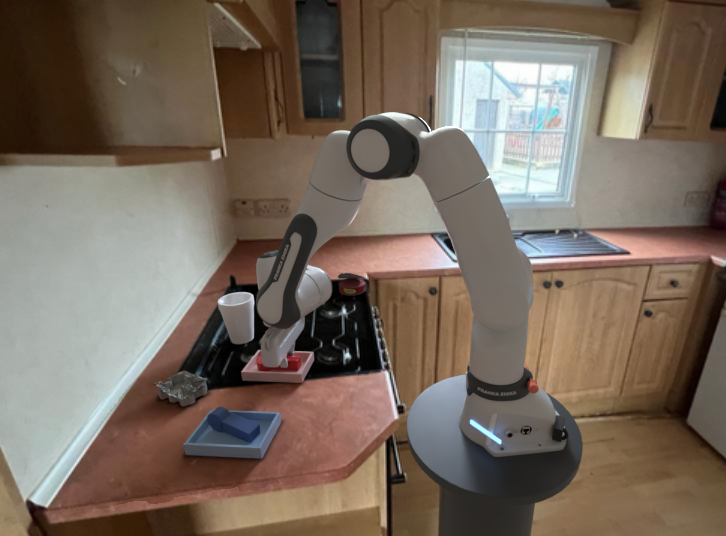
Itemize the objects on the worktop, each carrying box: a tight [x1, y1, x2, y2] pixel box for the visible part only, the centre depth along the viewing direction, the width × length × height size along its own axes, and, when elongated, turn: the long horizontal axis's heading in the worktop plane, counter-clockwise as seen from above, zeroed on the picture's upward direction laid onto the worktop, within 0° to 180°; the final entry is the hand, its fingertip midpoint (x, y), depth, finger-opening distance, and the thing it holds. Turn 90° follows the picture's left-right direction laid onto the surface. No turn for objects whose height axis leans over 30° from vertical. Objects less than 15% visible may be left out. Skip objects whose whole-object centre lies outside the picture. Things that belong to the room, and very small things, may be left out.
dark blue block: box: [207, 406, 260, 443], centre depth 84 cm, size 11×4×3 cm
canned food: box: [337, 272, 367, 296], centre depth 154 cm, size 11×10×10 cm
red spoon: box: [256, 355, 301, 372], centre depth 106 cm, size 11×4×3 cm, turn 86°
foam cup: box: [217, 291, 255, 345], centre depth 119 cm, size 10×9×13 cm
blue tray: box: [183, 408, 282, 460], centre depth 84 cm, size 15×10×3 cm
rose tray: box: [240, 349, 315, 384], centre depth 106 cm, size 15×10×3 cm
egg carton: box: [152, 370, 209, 408], centre depth 96 cm, size 11×8×4 cm
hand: (287, 362), depth 105 cm, fingers closed on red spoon, 2 cm apart
